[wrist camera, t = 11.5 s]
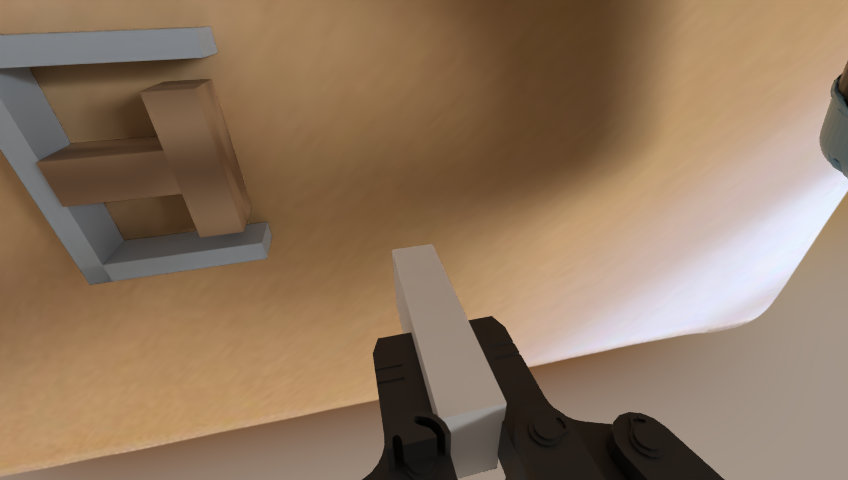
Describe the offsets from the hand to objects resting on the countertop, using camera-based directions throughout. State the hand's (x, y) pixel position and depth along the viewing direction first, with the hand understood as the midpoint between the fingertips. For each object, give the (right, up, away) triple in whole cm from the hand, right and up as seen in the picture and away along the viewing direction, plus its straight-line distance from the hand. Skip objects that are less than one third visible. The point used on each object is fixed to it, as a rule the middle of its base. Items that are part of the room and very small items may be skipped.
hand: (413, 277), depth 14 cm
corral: (-19, +8, +13) cm, 24 cm away
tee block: (-19, +8, +13) cm, 24 cm away
